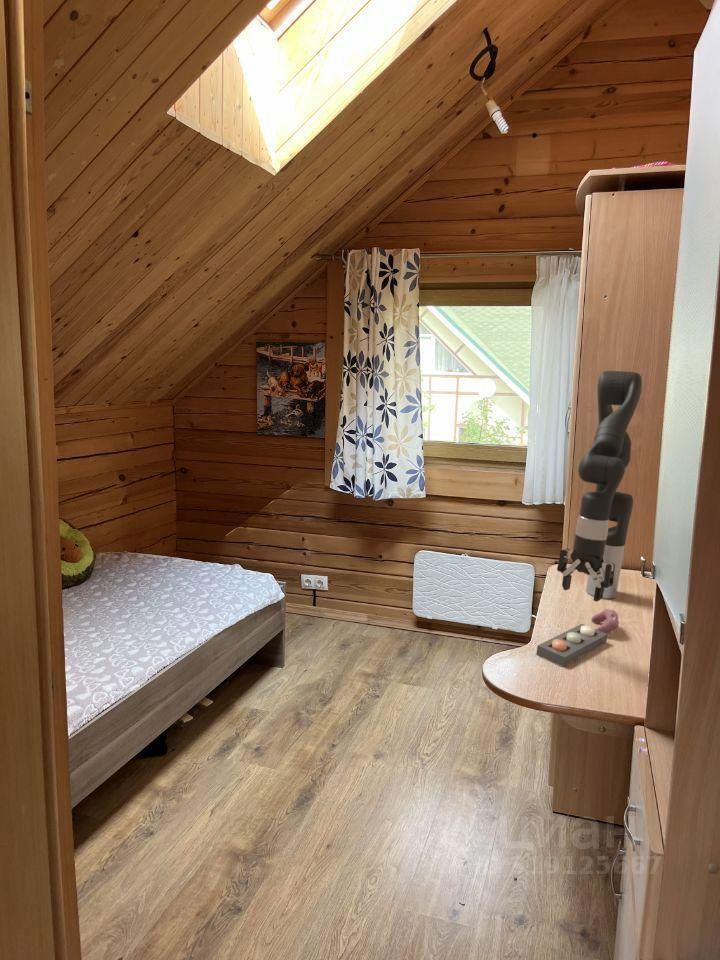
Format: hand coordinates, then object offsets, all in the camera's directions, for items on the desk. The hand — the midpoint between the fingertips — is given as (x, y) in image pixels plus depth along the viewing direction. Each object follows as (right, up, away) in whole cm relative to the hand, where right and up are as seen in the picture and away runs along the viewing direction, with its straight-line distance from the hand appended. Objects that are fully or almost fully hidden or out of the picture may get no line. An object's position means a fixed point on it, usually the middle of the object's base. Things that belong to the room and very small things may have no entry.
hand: (581, 595), depth 175 cm
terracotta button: (-6, -14, -2) cm, 15 cm away
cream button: (+4, -12, +8) cm, 15 cm away
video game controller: (+11, -13, +16) cm, 24 cm away
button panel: (-1, -14, +3) cm, 15 cm away
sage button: (-1, -13, +3) cm, 14 cm away
